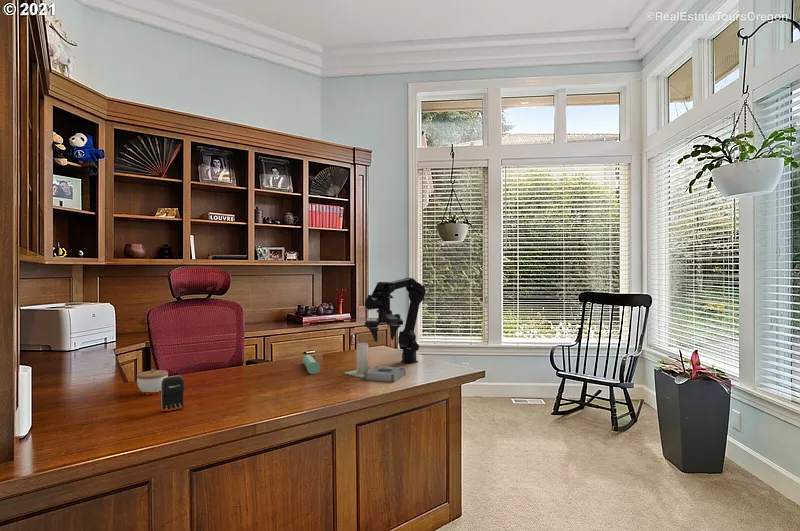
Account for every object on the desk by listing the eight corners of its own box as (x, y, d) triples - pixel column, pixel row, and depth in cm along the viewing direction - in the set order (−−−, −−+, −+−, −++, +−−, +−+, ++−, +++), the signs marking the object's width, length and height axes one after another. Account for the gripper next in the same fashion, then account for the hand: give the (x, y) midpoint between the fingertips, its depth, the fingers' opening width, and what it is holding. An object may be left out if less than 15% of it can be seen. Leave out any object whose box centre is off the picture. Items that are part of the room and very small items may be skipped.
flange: (376, 372, 215) (376, 366, 215) (405, 374, 210) (405, 368, 210) (363, 379, 201) (363, 372, 201) (394, 382, 197) (394, 375, 197)
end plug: (367, 370, 216) (367, 342, 216) (369, 373, 211) (369, 344, 211) (356, 371, 215) (356, 343, 215) (358, 374, 210) (357, 344, 210)
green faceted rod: (303, 351, 236) (310, 360, 213) (314, 355, 238) (322, 364, 214) (299, 362, 236) (305, 372, 212) (310, 366, 237) (317, 376, 214)
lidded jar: (132, 393, 182) (132, 369, 182) (161, 387, 190) (161, 364, 190) (142, 398, 175) (142, 373, 175) (172, 392, 183) (172, 368, 183)
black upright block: (163, 413, 156) (163, 379, 156) (160, 411, 159) (160, 377, 159) (185, 409, 161) (185, 376, 161) (182, 407, 164) (182, 374, 164)
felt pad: (363, 369, 221) (363, 368, 221) (381, 373, 213) (381, 372, 213) (343, 373, 213) (343, 372, 213) (362, 377, 204) (362, 376, 204)
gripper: (377, 310, 212) (377, 345, 212) (409, 308, 223) (410, 341, 223) (364, 308, 221) (364, 342, 221) (396, 306, 232) (396, 338, 232)
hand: (384, 340), depth 224 cm, fingers open, 9 cm apart
